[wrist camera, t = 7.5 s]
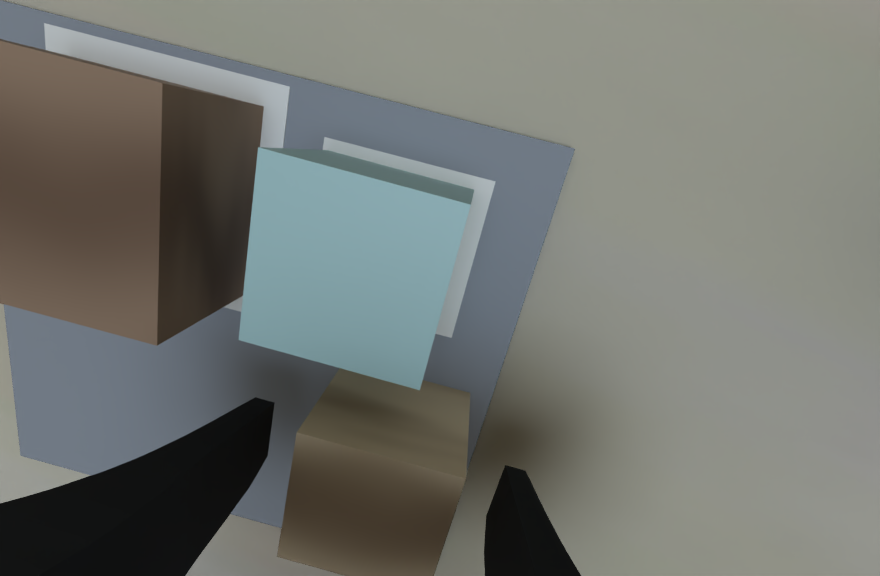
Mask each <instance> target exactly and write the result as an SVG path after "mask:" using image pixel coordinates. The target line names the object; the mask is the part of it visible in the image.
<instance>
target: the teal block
mask: <svg viewBox="0 0 880 576" xmlns="http://www.w3.org/2000/svg"><path fill="white" fill-rule="evenodd" d="M473 193H474V189H470V188H466V187H463V186H459V185H455V184H452V183H448V182H444V181H440V180H437V179H433V178H429V177H426V176H422V175H418V174H414V173H411V172H407V171H403V170H400V169H396V168H392V167H389V166H385V165H381V164H377V163H374V162H370V161H366V160H363V159H359V158H355V157H351V156H348V155H344V154H340V153H337V152H333V151H329V150H312V149H289V148H266V147H258V153H257V163H256V173H255V183H254V193H253V202H252V212H251V222H250V232H249V242H248V252H247V261H246V271H245V281H244V291H243V301H242V311H241V321H240V330H239V340H240V341H244V342H247V343H251V344H255V345H258V346H262V347H265V348H269V349H273V350H276V351H280V352H284V353H287V354H291V355H294V356H298V357H302V358H305V359H309V360H312V361H316V362H320V363H323V364H327V365H330V366H334V367H338V368H341V369H345V370H348V371H352V372H356V373H359V374H363V375H366V376H370V377H374V378H377V379H381V380H384V381H388V382H392V383H395V384H399V385H402V386H406V387H410V388H413V389H417V390H420V388H421V384H422V381H423V377H424V373H425V370H426V366H427V362H428V359H429V355H430V352H431V348H432V344H433V341H434V337H435V333H436V330H437V326H438V322H439V319H440V315H441V312H442V308H443V304H444V301H445V297H446V293H447V290H448V286H449V282H450V279H451V275H452V272H453V268H454V264H455V261H456V257H457V253H458V250H459V246H460V242H461V239H462V235H463V232H464V228H465V224H466V221H467V217H468V213H469V210H470V206H471V202H472V198H473Z"/></svg>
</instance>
